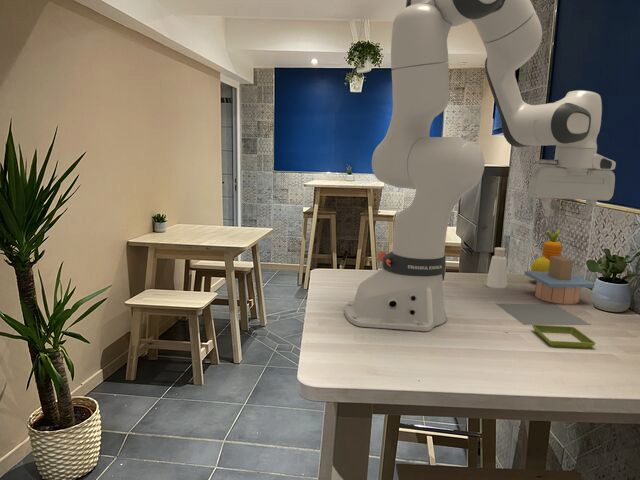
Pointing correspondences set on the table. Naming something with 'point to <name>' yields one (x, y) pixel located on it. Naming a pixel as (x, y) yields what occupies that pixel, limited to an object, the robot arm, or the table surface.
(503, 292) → the table surface
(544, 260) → the lemon
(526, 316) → the mat
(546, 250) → the carrot
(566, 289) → the bowl
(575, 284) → the lid
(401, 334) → the table surface
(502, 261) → the salt shaker
